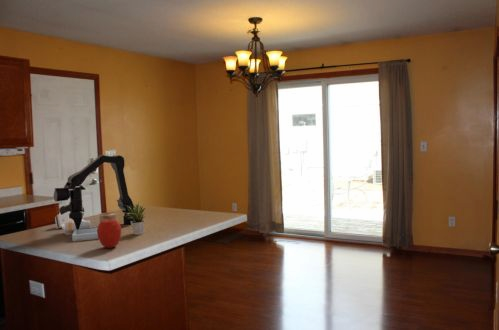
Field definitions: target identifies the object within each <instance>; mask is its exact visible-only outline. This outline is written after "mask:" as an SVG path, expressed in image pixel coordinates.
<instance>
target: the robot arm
mask: <svg viewBox="0 0 499 330" xmlns="http://www.w3.org/2000/svg"><path fill="white" fill-rule="evenodd" d="M104 163H108V164H110V166H111V169H112V170H113V171H114V174H115V178H116V183H117V188H118V193H119V198H118V199H116V202H117V207H118V208H119V209H120V210H121V212H122V213H123V214H124V215H123V216H122V219H123V223H124V225H125V226H126V225H131V221H134V219H132V218H131V217H132V216H133V214H129V215H132V216H131V217H130V216H129V215H128V214H126V213H131V212H132V211H131V209H132V210H133V208H134V206H133V205H134V203H133V200H132V198H131V197H130V195H129V193H128V191H129V190H128V187H127V181H126V177H125V172H124V170H125V169H124V168H125V167H126V166H125V165H126V164H125V157H124V156H122V155H118V154H117V155H116V154H115V155H111V156H109V155H104V154H100V155H98V156H96V158H95V159H93V160H92V161H91V162H89V163H88V164H87V165H86V166H84V167H83V168H82V169H80V170H79V171H76V172H75V173H73V174H71V175H69V176H68V178H67V182H66V183H65V184H64V186H63V187H55V188H54V191H53V196H52V197H53V199H54V202H55V203H56V202H64V201H68V200H69V203H68V204H66V205H61V206H60V208H58V211H59V214H60V213H61V215H62V214H64V213H66V212H68V211H70V212H71V213H70V214H69V218H71V219H73V220H74V223H75V226H76V229H79V227H80V224H81V221H82V218H83V219H84V214H85V207H84V206H83V194H82V193H83V190H84V191H85V190H86V188H85V187H84V186H83V185H82V184H83V183H84V182H85V181H86V179H87V178H88V176H89V175H91V174H92V173H93V172H94V171H95V170H97V169H98V168H99V167H101V166H102V164H104ZM126 205H127V206H126ZM128 206H129V207H130V208H131V209H130V208H129V207H128ZM127 208H128V210H127ZM129 209H130V211H131V212H130V211H129ZM133 212H134V210H133ZM133 212H132V213H133ZM134 213H135V212H134ZM127 215H128V216H127ZM134 216H135V215H134ZM134 216H133V217H134ZM128 217H130V218H131V219H130V218H128ZM134 218H135V217H134Z"/></svg>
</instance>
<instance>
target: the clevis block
mask: <svg viewBox="0 0 499 330" xmlns="http://www.w3.org/2000/svg"><path fill="white" fill-rule="evenodd" d="M106 219H113V220H116V221H117V219H116V212H105V213H104V212H103V213H99V217H98V220H99V224H100V223H101V222H102V221H103V220H106ZM98 226H99V225H96V226H95V225H94V226H90V229H95V228H98ZM81 230H85V229H81ZM74 231H75V230H71V231H65V230H64V234H65V236H72V235H73V232H74Z"/></svg>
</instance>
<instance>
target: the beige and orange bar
mask: <svg viewBox="0 0 499 330" xmlns="http://www.w3.org/2000/svg"><path fill="white" fill-rule="evenodd" d="M90 227H91V220H89V219H88V220H85V221H81V224H80V227H79V229H76V226H75V223H74V222H65V229H64V232H65V231H71V230H81V229H90Z"/></svg>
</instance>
